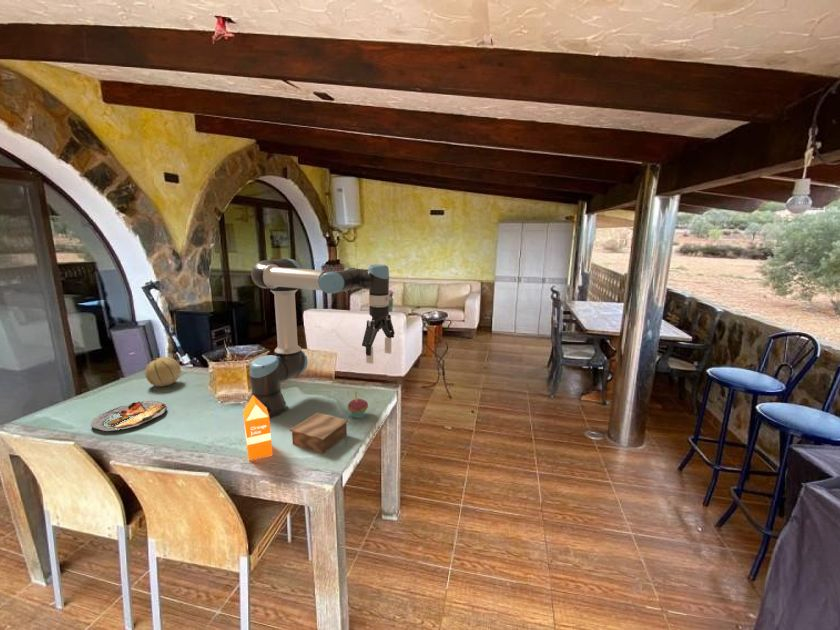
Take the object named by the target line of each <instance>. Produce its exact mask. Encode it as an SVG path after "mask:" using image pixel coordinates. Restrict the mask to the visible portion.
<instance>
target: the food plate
mask: <svg viewBox="0 0 840 630" xmlns="http://www.w3.org/2000/svg"><path fill="white" fill-rule="evenodd" d="M167 408H168V406H167V405H166V404H165V403H163V402H160V401H156V400H150V401H149V400H148V401H147V400H146V401H137V402H132V403H128V404H126V405H121V406H119V407H116V408H113V409H111V410H109V411H105V412H104V413H101V414H99V415H98V416H96V417H95V418H93V420H92V421H91V424H90V426H91V427H92V428H94V429H96V430H99V431H100V430H101V431H106V432H110V431H119V430H120V429H122V430H125V429H129V428H134V427H137V426H140V425H143V424H145V423H146V422H149V421H151V420H153V419H155V418H157V417H159V416H162V415H163V414H164V413H165V412H166V410H167ZM118 413H119V414H120V416H122V417H119V418H117V419H116V418H114V419H115V420H113V419H112V420H111V421H108V422H107V425H106V426H104V422H105V421H106V420H107V419H109V418H110V416H111V417H113V415H114V414H116V415H117V414H118ZM136 415H137V416H136ZM129 416H130V417H132V416H133V418H131V419H129V418H130V417H129ZM127 419H129V420H127ZM124 420H127V421H125V422H123V423H121V424H117V423H120V422H122V421H124ZM115 424H117V425H115ZM108 425H111V426H112V425H115V426H112V427H109V426H108ZM108 427H109V428H108ZM115 428H117V429H115ZM120 431H121V430H120Z"/></svg>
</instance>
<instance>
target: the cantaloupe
mask: <svg viewBox="0 0 840 630" xmlns="http://www.w3.org/2000/svg"><path fill="white" fill-rule="evenodd" d="M144 371H145V372H144V374H145V378H146V380H147V382H149V384H151V385H153V386H155V387H168V386H171V385H172V384H174V383H175V382H176V381H178V379H179V378H180V376H181V374H182V370H181V366H180V364H179V363H178V362H177V360H175V359H174V358H172V357H167V356H161V357H158V358H157V357H153V359H152V360H151V361H150V362H149V363H148V364H147V365H146V367H145V370H144Z"/></svg>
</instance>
